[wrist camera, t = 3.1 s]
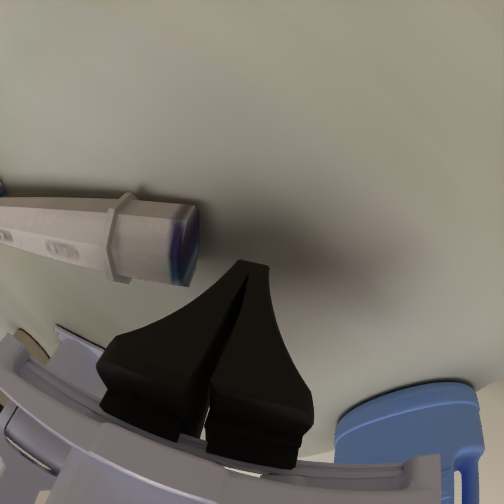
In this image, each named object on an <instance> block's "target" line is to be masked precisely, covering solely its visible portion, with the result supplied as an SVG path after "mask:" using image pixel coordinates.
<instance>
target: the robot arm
mask: <svg viewBox="0 0 504 504" xmlns="http://www.w3.org/2000/svg"><path fill="white" fill-rule="evenodd" d="M269 269H270V268H269V267H268V266H266V265H262V264H258V263H253V262H249V261H245V260H238V261H237V262H236V263H235V264H234V265H233V266H232V267H231V268H230V269H229V270H228V271H227V272H226V273H225V274H224V275H223V276H222V277H221V278H220V279H219V280H218V281H217V282H216V283H215V284H214V285H212V286H211V287H210V288H209V289H208V290H206V291H205V292H204V293H202V294H201V295H200V296H199V297H197V298H196V299H195V300H193V301H192V302H190V303H189V304H187V305H186V306H184V307H183V308H181V309H179V310H177V311H176V312H174V313H172V314H170V315H169V316H167V317H165V318H163V319H161V320H158V321H156V322H154V323H152V324H149V325H147V326H145V327H142V328H140V329H137V330H134V331H131V332H128V333H124V334H121V335H118V336H116V337H115V338H114V339H113V340H112V341H111V342H110V344H109V345H108V346H107V348H106V349H105V350H104V349H102V348H100V347H98V346H96V345H93V344H91V343H89V342H87V341H85V340H83V339H81V338H79V337H77V336H76V335H74V334H72V333H70V332H68V331H66V330H64V329H62V328H61V327H59V326H57V325H55V326H54V330H55V331H56V333H57V335H58V337H59V339H60V340H61V342H62V343H61V344H60V345H59V347H58V348H57V350H56V351H55V352H54V354H53V355H52V357H51V358H50V359H49V361H48V362H47V364H46V365H44V364H42V363H41V362H39V361H38V360H36V359H35V358H34V357H32V356H31V355H30V353H29V351H28V350H27V348H26V347H25V346H24V345H23V344H22V343H21V342H20V341H19V340H17V339H16V338H15V337H14V336H12V335H11V334H10V333H7V334H6V335H5V337H4V338H3V339H2V340H1V342H0V390H1V391H2V392H3V393H4V394H5V395H6V396H7V397H8V398H9V400H8V402H7V403H6V405H5V406H4V408H3V410H2V412H1V413H0V459H1V462H2V463H3V467H2V469H1V471H0V504H34V503H35V501H36V498H37V496H38V494H39V491H44V490H51V492H50V494H49V497H48V499H47V501H46V504H441V460H440V454H439V453H437V454H430V455H421V456H416V457H413V458H410V459H408V460H406V461H405V462H403V463H386V464H341V463H324V462H311V461H302V460H297V456H298V450H299V448H300V447H301V444H302V437H303V435H304V434H305V433H306V432H307V431H308V430H309V429H310V428H311V427H312V426H313V424H314V407H313V400H312V394H311V391H310V389H309V388H308V387H307V385H306V384H305V382H304V380H303V379H302V377H301V376H300V374H299V372H298V370H297V369H296V367H295V365H294V363H293V361H292V359H291V357H290V355H289V353H288V351H287V349H286V347H285V344H284V342H283V339H282V337H281V334H280V331H279V328H278V325H277V322H276V318H275V315H274V311H273V306H272V301H271V296H270V289H269ZM209 405H210V410H209V413H208V416H207V419H206V421H205V418H206V415H207V412H208V408H209ZM204 422H205V424H204ZM203 425H204V428H205V433H206V441H204V440H201V439H200V436H201V432H202V429H203ZM5 435H6V436H7V437H8V438H9V439H10V440H12V441H13V442H14V443H15V444H17V445H18V446H19V447H20V448H22V449H23V450H24V451H26V452H27V453H28V454H30V455H31V456H33V457H34V458H36V459H37V460H38V461H40V462H41V463H43V464H44V465H46V466H47V467H49V468H50V469H52V470H49V469H46V468H44V467H42V466H41V465H39V464H38V463H37V462H35V461H34V460H32V459H31V458H29V457H28V456H27V455H25V454H24V453H23V452H21V451H20V450H19V449H17V448H16V447H15V446H14V445H12V444H11V443H10V442H9V441H8V439H7V438H6V436H5ZM223 466H225V467H229V468H233V469H238V470H242V471H247V472H253V473H257V474H263V475H261V476H260V478H258V477H254V476H250V475H246V474H242V473H238V472H235V471H231V470H228V469H225V468H224V467H223Z"/></svg>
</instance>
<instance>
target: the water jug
mask: <svg viewBox="0 0 504 504" xmlns="http://www.w3.org/2000/svg"><path fill="white" fill-rule="evenodd" d="M479 410H480V408H479V403H478V399H477V395H476V393H475V391H474V390H473V389H472V388H471V387H470V386H468V385H465V384H462V383H457V382H437V383H429V384H423V385H418V386H413V387H409V388H405V389H402V390H398V391H395V392H392V393H389V394H386V395H383V396H380V397H377V398H375V399H373V400H370V401H368V402H366V403H364V404H362V405H360V406H358V407H356V408H355V409H353V410H352V411H350V412H349V413H347V414H346V415H345V416H344V417H343V418H342V419H341V420H340V422H339V423H338V425H337V427H336V430H335V441H334V445H335V457H334V463H341V464H386V463H403V462H405V461H406V460H408V459H410V458H413V457H416V456H421V455H430V454H437V453H439V454H440V460H441V504H454V472H455V471H457V470H458V471H460V473H461V475H462V504H479V474H478V461H479V458H480V457H481V456H482V454H483V452H484V449H485V448H484V439H483V433H482V426H481V421H480V416H479Z"/></svg>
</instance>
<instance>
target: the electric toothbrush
mask: <svg viewBox="0 0 504 504" xmlns="http://www.w3.org/2000/svg"><path fill="white" fill-rule="evenodd" d="M0 243H3V244H6V245H9V246H12V247H16V248H19V249H22V250H25V251H29V252H32V253H36V254H39V255H42V256H46V257H49V258H53V259H57V260H60V261H64V262H68V263H71V264H75V265H79V266H83V267H86V268H90V269H94V270H98V271H102V272H106V274H107V278H108V280H111V281H116V282H121V283H126V284H129V283H130V281H131V279H132V278H134V279H140V280H146V281H152V282H159V283H165V284H171V285H178V286H184V287H189V286H190V283H191V280H192V277H193V275H194V272H195V269H196V263H197V257H198V250H199V212H198V210H197V208H196V206H195V205H187V204H176V203H164V202H152V201H140V200H138V199H137V197H136V196H135V195H134V194H133V193H130V192H126V193H125V194H124V195H122V196H121V197H120V198H119V199H102V198H65V197H6V193H5V189H4V187H3V185H2V183H1V181H0Z"/></svg>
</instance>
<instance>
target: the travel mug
mask: <svg viewBox="0 0 504 504" xmlns="http://www.w3.org/2000/svg"><path fill="white" fill-rule="evenodd" d="M13 336H14V337H15V338H16V339H17V340H19V341H20V342H21V343H22V344H23V345H24V346H25V347H26V348H27V350H28V351H29V353H30V355H31V356H32V357H34V358H35V359H36V360H38V361H39V362H41V363H42V364H44V365H46V364H47V362H48V361H49V358H48V356H47V354H46V353H45V351H44V350H43V349H42V348H41V346H40V345H39V344H38V343H37V342H36V341H35V340H34V339H33V338H32V337H31V336H30V335H29V334H27V333H26V332H24V331H22V330H19V329H18V330H17V331H16V332H15V334H14V335H13ZM8 400H9V398H8V397H7V396H6V395H5V394H4V393H3V392H2V391H1V390H0V413H1V412H2V410H3V408H4V406H5V405H6V403H7V402H8Z"/></svg>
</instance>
